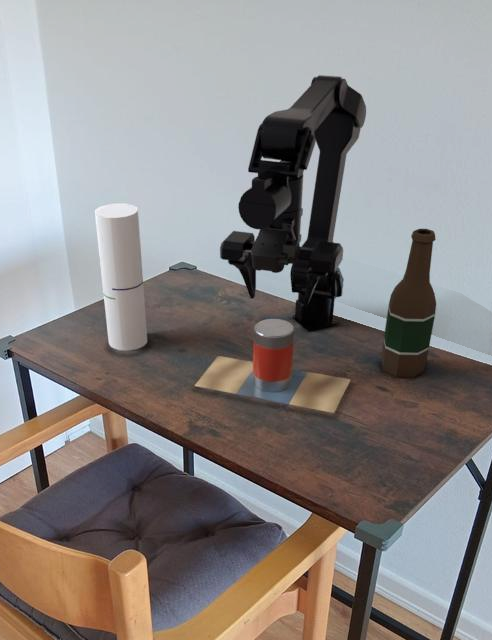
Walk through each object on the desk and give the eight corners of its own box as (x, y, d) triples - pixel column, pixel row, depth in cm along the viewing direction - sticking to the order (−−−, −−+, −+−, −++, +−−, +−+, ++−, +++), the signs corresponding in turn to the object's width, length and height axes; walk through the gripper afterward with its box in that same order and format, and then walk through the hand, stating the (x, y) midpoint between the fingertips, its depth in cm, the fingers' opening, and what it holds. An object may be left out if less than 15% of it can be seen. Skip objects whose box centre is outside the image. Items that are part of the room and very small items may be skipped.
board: (350, 384, 127) (350, 379, 126) (333, 418, 119) (334, 412, 118) (218, 360, 135) (218, 355, 134) (194, 390, 127) (194, 385, 126)
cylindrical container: (142, 356, 136) (131, 218, 121) (104, 353, 138) (89, 216, 122) (151, 338, 142) (142, 204, 126) (115, 335, 143) (102, 202, 128)
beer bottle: (373, 372, 130) (392, 235, 115) (386, 353, 135) (406, 219, 120) (418, 382, 127) (443, 243, 112) (430, 362, 132) (455, 226, 117)
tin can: (280, 369, 130) (282, 315, 123) (298, 387, 125) (301, 331, 119) (246, 377, 128) (246, 322, 121) (263, 395, 123) (264, 340, 117)
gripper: (206, 218, 111) (208, 314, 121) (329, 232, 106) (321, 332, 115) (232, 194, 119) (232, 286, 129) (348, 206, 113) (339, 301, 123)
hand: (279, 301), depth 124 cm, fingers open, 9 cm apart
